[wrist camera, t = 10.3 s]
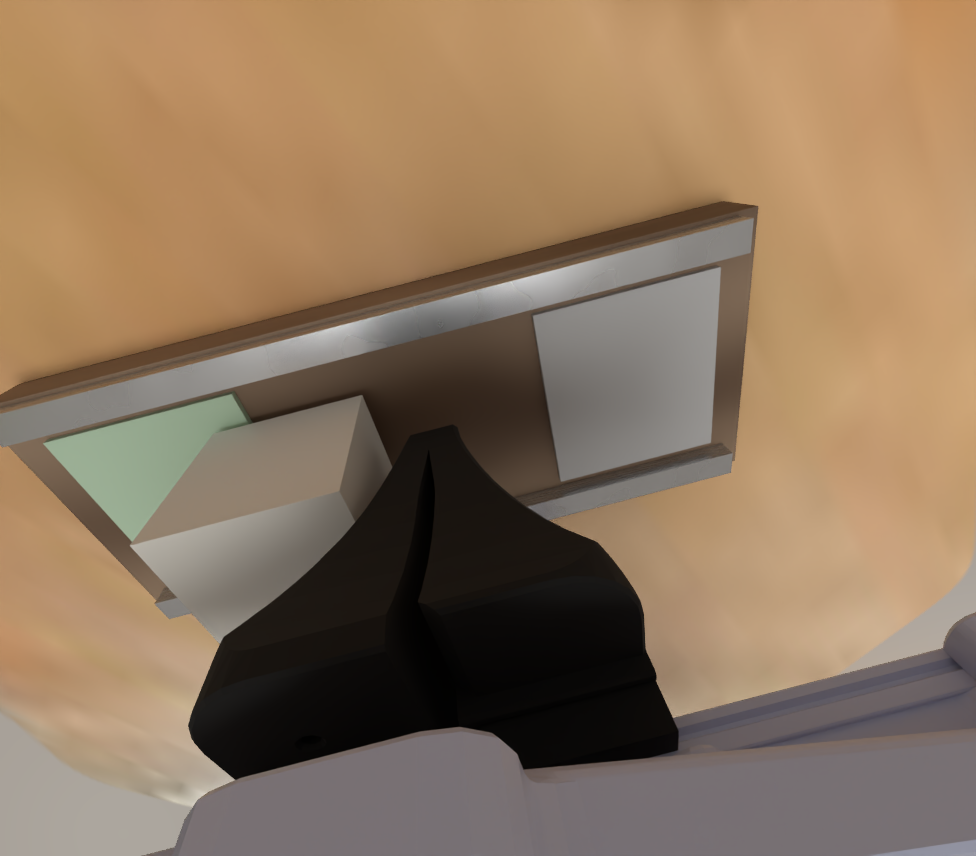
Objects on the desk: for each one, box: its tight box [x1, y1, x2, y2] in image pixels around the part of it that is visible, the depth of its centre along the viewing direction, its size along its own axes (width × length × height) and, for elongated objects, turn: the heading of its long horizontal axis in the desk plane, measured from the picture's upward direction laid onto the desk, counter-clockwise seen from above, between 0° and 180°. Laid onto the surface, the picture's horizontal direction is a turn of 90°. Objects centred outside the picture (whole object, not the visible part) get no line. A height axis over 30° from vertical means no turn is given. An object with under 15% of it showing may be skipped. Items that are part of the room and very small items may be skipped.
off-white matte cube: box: [130, 395, 392, 644], centre depth 11 cm, size 4×4×4 cm
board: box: [0, 201, 758, 619], centre depth 14 cm, size 8×20×2 cm, turn 102°
